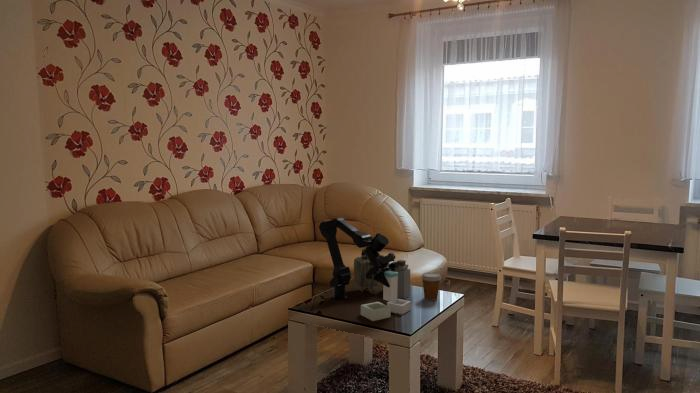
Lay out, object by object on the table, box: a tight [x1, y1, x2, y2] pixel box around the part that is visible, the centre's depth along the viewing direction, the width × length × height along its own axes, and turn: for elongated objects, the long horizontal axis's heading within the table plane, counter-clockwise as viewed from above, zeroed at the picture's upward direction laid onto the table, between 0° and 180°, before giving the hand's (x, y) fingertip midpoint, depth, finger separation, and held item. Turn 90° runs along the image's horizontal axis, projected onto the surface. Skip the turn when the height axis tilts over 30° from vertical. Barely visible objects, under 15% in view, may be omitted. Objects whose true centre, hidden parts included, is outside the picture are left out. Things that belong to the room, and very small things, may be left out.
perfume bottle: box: [395, 259, 411, 300], centre depth 255 cm, size 7×7×18 cm
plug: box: [382, 271, 398, 302], centre depth 228 cm, size 5×5×12 cm
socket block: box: [360, 301, 392, 322], centre depth 226 cm, size 10×10×4 cm
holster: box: [386, 298, 412, 315], centre depth 233 cm, size 8×8×4 cm
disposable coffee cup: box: [421, 272, 442, 301], centre depth 251 cm, size 10×10×12 cm
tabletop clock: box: [353, 246, 379, 295], centre depth 261 cm, size 14×9×25 cm, turn 15°
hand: (392, 285), depth 227 cm, fingers closed on plug, 4 cm apart
